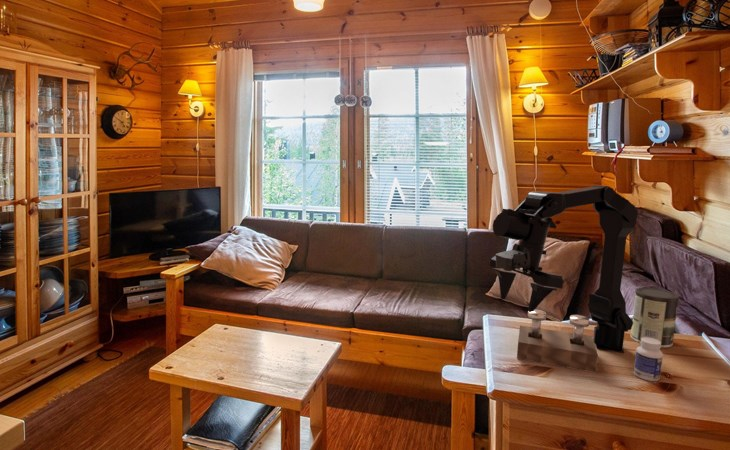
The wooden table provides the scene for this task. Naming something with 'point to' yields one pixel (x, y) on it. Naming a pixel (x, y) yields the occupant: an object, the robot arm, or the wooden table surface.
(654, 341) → the pill bottle
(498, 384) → the wooden table surface
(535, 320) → the far plunger
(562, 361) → the block
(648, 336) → the coffee can
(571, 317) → the near plunger
